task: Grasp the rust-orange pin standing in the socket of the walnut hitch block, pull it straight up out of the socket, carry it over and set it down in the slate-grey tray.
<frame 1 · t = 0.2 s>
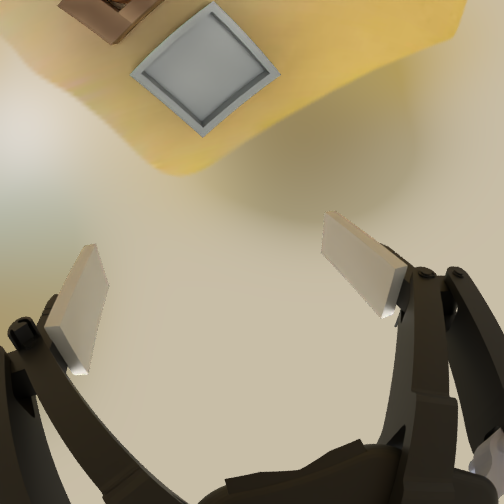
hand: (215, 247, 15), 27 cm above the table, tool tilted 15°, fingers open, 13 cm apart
tray: (204, 66, 30), on the table
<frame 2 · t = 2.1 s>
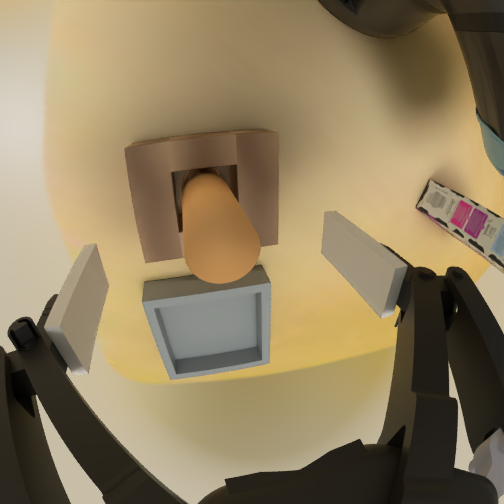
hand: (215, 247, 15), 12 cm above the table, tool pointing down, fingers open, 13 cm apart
candy bar box: (438, 208, 35), on the table
tray: (209, 318, 33), on the table
pin: (209, 209, 20), in the hitch block
hitch block: (203, 186, 26), on the table
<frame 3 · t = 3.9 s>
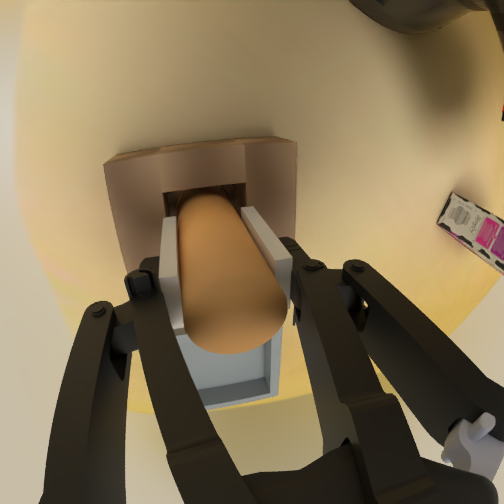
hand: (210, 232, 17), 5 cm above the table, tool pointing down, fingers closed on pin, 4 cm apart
candy bar box: (458, 222, 31), on the table
tray: (212, 351, 29), on the table
pin: (213, 242, 16), in the hitch block, touching gripper
hitch block: (202, 206, 21), on the table
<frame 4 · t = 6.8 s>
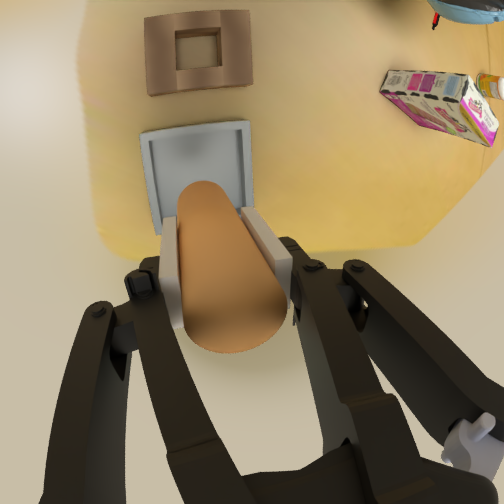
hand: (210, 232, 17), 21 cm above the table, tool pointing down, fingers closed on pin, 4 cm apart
candy bar box: (404, 99, 37), on the table
tray: (197, 172, 36), on the table
pen: (438, 1, 27), on the table
supplement bottle: (480, 84, 37), on the table
pin: (213, 241, 16), point 23 cm above the table, touching gripper
hitch block: (196, 54, 28), on the table
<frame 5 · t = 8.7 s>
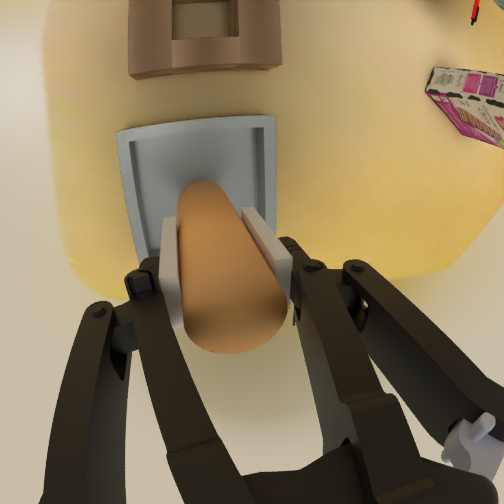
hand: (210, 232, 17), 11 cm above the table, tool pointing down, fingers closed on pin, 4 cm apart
candy bar box: (448, 103, 28), on the table
tray: (198, 186, 26), on the table
pin: (213, 242, 16), point 12 cm above the table, touching gripper
hitch block: (201, 24, 19), on the table
when the fingers open (8 cm above the table, at t = 10.0 s): pin drops 1 cm, resting on tray.
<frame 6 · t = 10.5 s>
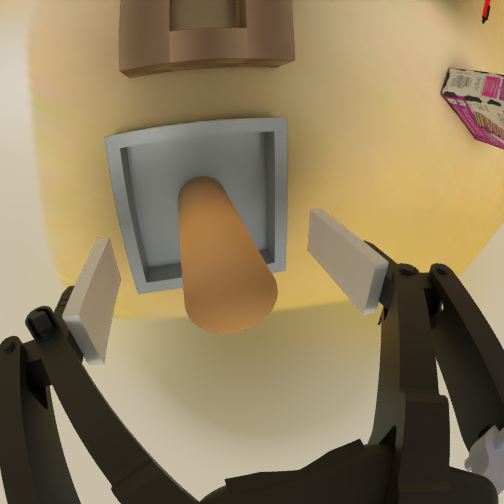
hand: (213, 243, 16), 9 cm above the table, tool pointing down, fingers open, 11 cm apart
candy bar box: (462, 106, 25), on the table
tray: (200, 196, 24), on the table
pin: (211, 234, 17), in the tray, point 8 cm above the table
hitch block: (202, 15, 16), on the table
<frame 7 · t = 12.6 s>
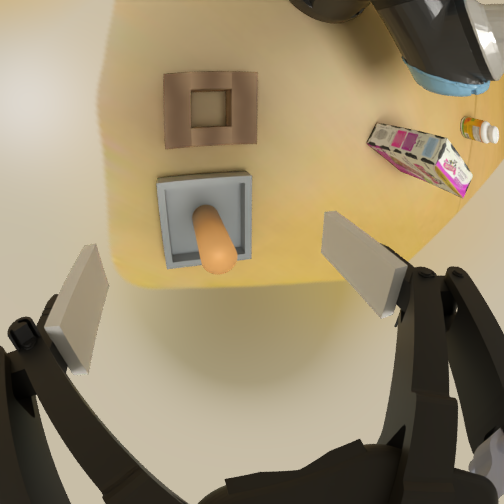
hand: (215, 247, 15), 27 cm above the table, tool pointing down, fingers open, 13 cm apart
candy bar box: (388, 148, 46), on the table
tray: (204, 215, 43), on the table
supplement bottle: (464, 126, 48), on the table
pin: (211, 234, 36), in the tray, point 8 cm above the table
hitch block: (207, 109, 35), on the table
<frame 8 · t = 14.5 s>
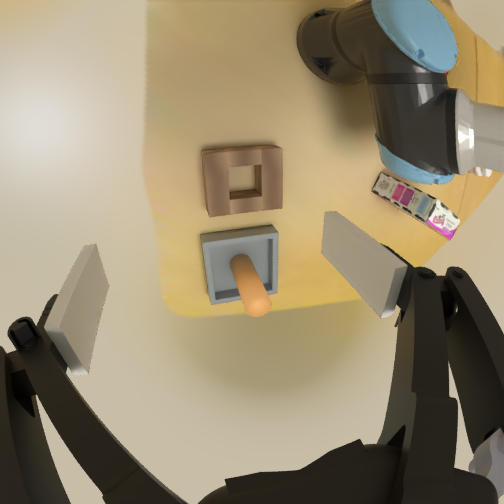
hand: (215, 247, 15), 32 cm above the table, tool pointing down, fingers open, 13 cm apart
candy bar box: (390, 191, 55), on the table
tray: (238, 260, 53), on the table
supplement bottle: (461, 158, 56), on the table
pin: (248, 282, 47), in the tray, point 8 cm above the table
hitch block: (240, 176, 46), on the table
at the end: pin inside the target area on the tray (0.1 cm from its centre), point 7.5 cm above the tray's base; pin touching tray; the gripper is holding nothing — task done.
